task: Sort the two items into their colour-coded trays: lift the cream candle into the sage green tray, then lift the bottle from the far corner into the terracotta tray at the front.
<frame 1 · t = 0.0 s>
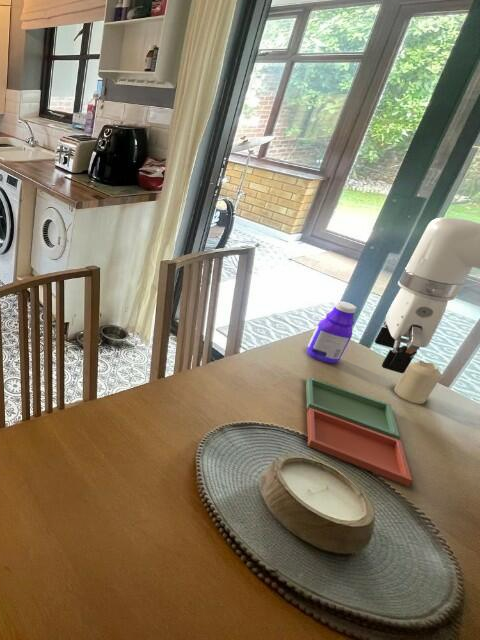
hand: (387, 357, 84), 20 cm above the table, tool pointing down, fingers open, 9 cm apart
candle: (408, 397, 102), on the table
tray terracotta: (352, 447, 88), on the table
bottle: (321, 358, 115), on the table
tray sage: (346, 410, 97), on the table
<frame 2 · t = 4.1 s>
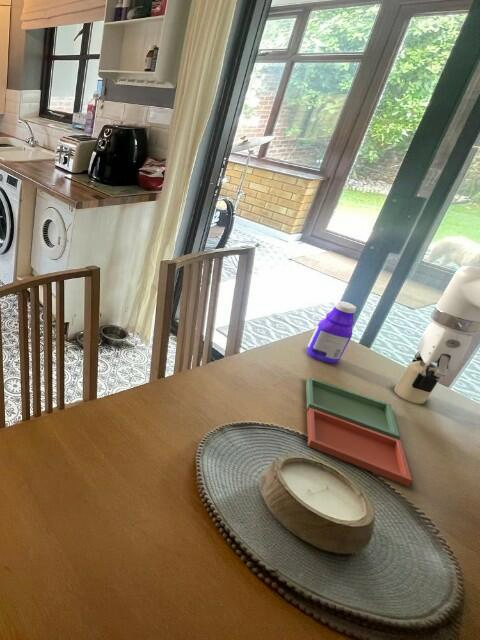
hand: (418, 381, 100), 5 cm above the table, tool pointing down, fingers closed on candle, 5 cm apart
candle: (408, 397, 102), on the table, touching gripper
everything else where it was.
when the fingers open (5 cm above the table, at t = 12.2 s): candle stays where it is, resting on tray sage.
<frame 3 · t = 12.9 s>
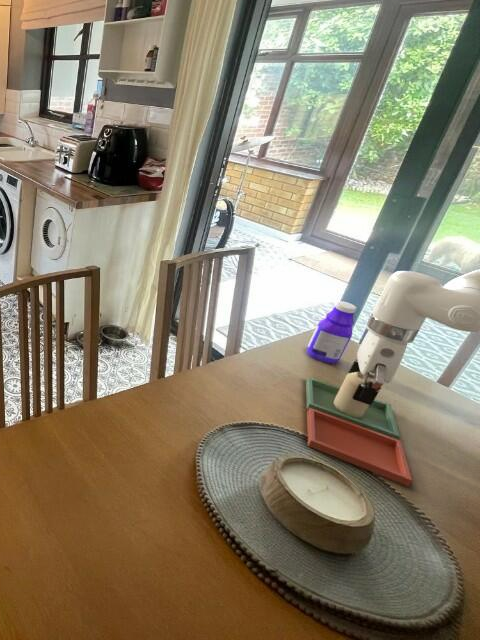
hand: (358, 388, 94), 7 cm above the table, tool pointing down, fingers open, 9 cm apart
candle: (347, 409, 97), resting on tray sage
everything else where it was.
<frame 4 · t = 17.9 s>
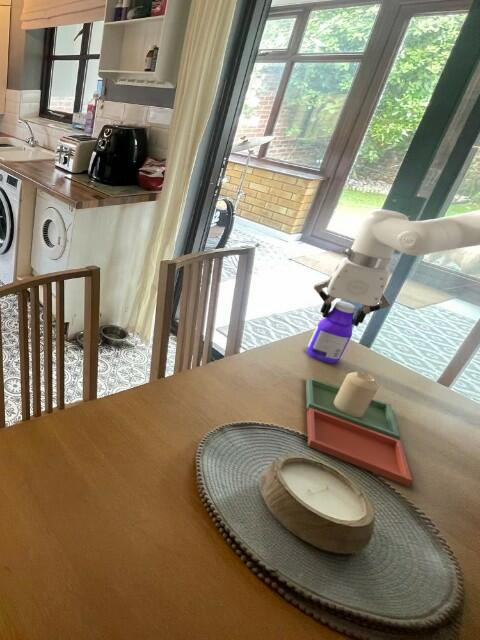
hand: (339, 318, 110), 13 cm above the table, tool pointing down, fingers closed on bottle, 5 cm apart
bottle: (321, 358, 115), on the table, touching gripper
everything else where it was.
when the fingers open (13 cm above the table, at t = 26.4 s): bottle stays where it is, resting on tray terracotta.
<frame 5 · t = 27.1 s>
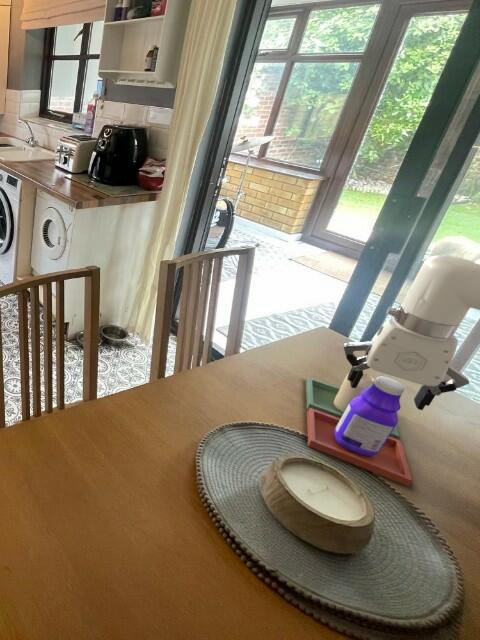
hand: (384, 394, 81), 15 cm above the table, tool pointing down, fingers open, 9 cm apart
bottle: (353, 446, 88), resting on tray terracotta
everything else where it was.
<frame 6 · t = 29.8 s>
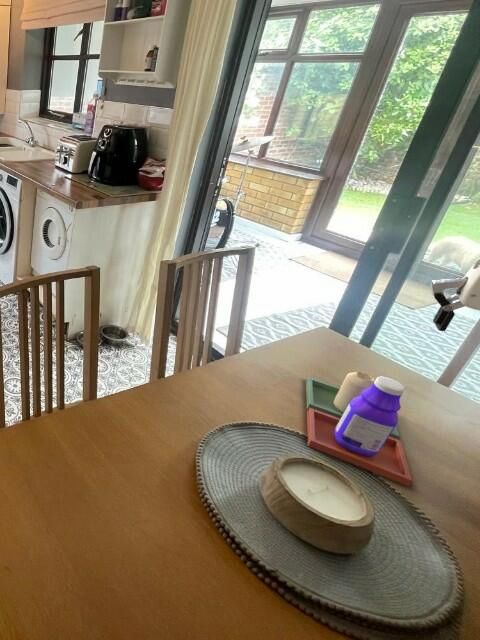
hand: (477, 337, 73), 30 cm above the table, tool pointing down, fingers open, 9 cm apart
nothing on the table moved.
at the end: candle inside the target area in the tray sage (0.0 cm from its centre), point 0.3 cm above the tray sage's base; bottle inside the target area in the tray terracotta (0.1 cm from its centre), point 0.3 cm above the tray terracotta's base; bottle tilted 0° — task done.
